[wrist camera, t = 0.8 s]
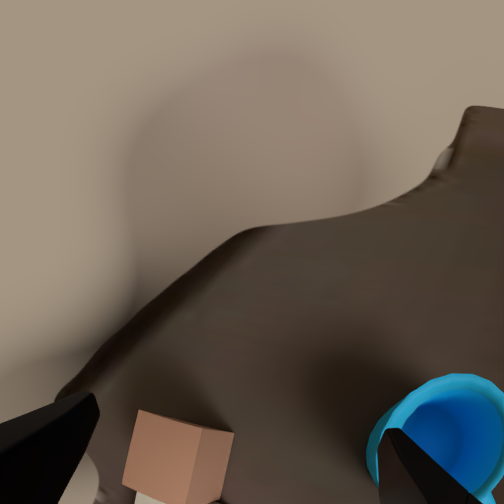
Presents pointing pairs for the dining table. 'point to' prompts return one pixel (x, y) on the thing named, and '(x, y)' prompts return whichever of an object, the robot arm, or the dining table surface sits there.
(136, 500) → the slab
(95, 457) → the dining table surface
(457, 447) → the mug
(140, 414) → the tan cube
